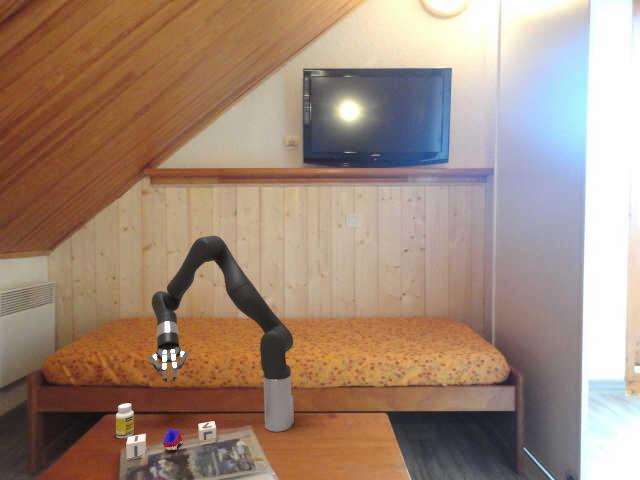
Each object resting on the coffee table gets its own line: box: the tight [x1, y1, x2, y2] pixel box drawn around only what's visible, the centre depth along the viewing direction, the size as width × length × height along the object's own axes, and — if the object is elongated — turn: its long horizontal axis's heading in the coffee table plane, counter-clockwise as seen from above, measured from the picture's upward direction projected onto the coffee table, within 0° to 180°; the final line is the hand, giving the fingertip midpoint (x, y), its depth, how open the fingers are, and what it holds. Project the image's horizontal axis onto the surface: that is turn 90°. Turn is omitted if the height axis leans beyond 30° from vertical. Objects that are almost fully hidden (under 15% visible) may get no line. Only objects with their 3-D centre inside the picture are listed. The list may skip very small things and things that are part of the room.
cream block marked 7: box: [197, 420, 217, 440], centre depth 128 cm, size 5×5×5 cm
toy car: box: [162, 428, 183, 448], centre depth 123 cm, size 4×4×8 cm
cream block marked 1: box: [125, 433, 147, 460], centre depth 120 cm, size 5×5×5 cm
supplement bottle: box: [115, 402, 135, 439], centre depth 133 cm, size 5×5×10 cm
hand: (170, 380), depth 136 cm, fingers closed
